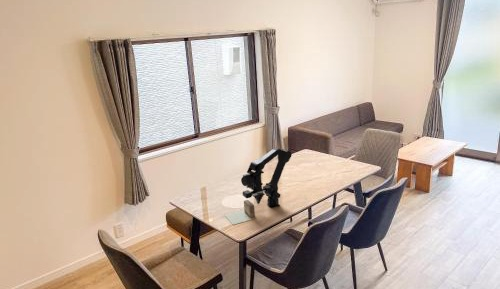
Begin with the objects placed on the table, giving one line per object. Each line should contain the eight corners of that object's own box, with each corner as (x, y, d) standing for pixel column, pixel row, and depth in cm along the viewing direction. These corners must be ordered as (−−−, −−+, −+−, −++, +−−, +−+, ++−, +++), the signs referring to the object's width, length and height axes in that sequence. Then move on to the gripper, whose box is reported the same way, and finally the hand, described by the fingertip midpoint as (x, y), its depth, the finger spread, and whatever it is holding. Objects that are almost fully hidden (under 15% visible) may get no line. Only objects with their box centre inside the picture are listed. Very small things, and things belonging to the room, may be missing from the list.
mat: (241, 210, 236) (241, 210, 235) (251, 219, 223) (250, 219, 223) (224, 215, 231) (224, 215, 231) (233, 225, 219) (233, 224, 219)
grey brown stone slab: (248, 210, 235) (248, 199, 233) (255, 216, 227) (254, 205, 225) (244, 212, 234) (243, 200, 231) (250, 217, 226) (249, 206, 224)
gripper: (264, 174, 238) (265, 195, 242) (238, 180, 230) (239, 202, 235) (272, 179, 228) (273, 202, 233) (245, 186, 221) (247, 209, 225)
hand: (258, 203), depth 232 cm, fingers closed
